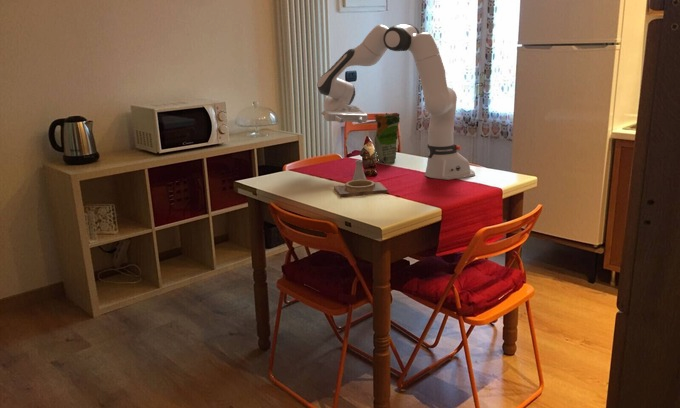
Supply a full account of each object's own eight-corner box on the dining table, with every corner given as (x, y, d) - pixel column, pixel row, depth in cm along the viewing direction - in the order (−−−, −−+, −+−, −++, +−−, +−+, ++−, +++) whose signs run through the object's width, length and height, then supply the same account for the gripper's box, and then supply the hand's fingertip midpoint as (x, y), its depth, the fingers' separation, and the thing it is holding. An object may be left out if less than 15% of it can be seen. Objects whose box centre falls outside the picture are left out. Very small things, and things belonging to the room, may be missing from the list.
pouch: (401, 159, 298) (400, 111, 291) (394, 165, 288) (393, 114, 281) (380, 159, 302) (379, 110, 295) (373, 164, 292) (372, 114, 285)
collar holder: (379, 185, 252) (379, 177, 251) (387, 193, 240) (387, 184, 239) (334, 189, 249) (333, 181, 248) (340, 197, 236) (339, 189, 235)
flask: (366, 185, 254) (365, 162, 251) (350, 184, 255) (349, 162, 252) (368, 180, 261) (368, 159, 258) (352, 180, 262) (352, 158, 259)
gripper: (320, 105, 268) (330, 113, 257) (361, 106, 276) (372, 115, 264) (319, 118, 271) (328, 127, 259) (359, 119, 278) (370, 128, 266)
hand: (351, 121), depth 262 cm, fingers open, 8 cm apart
